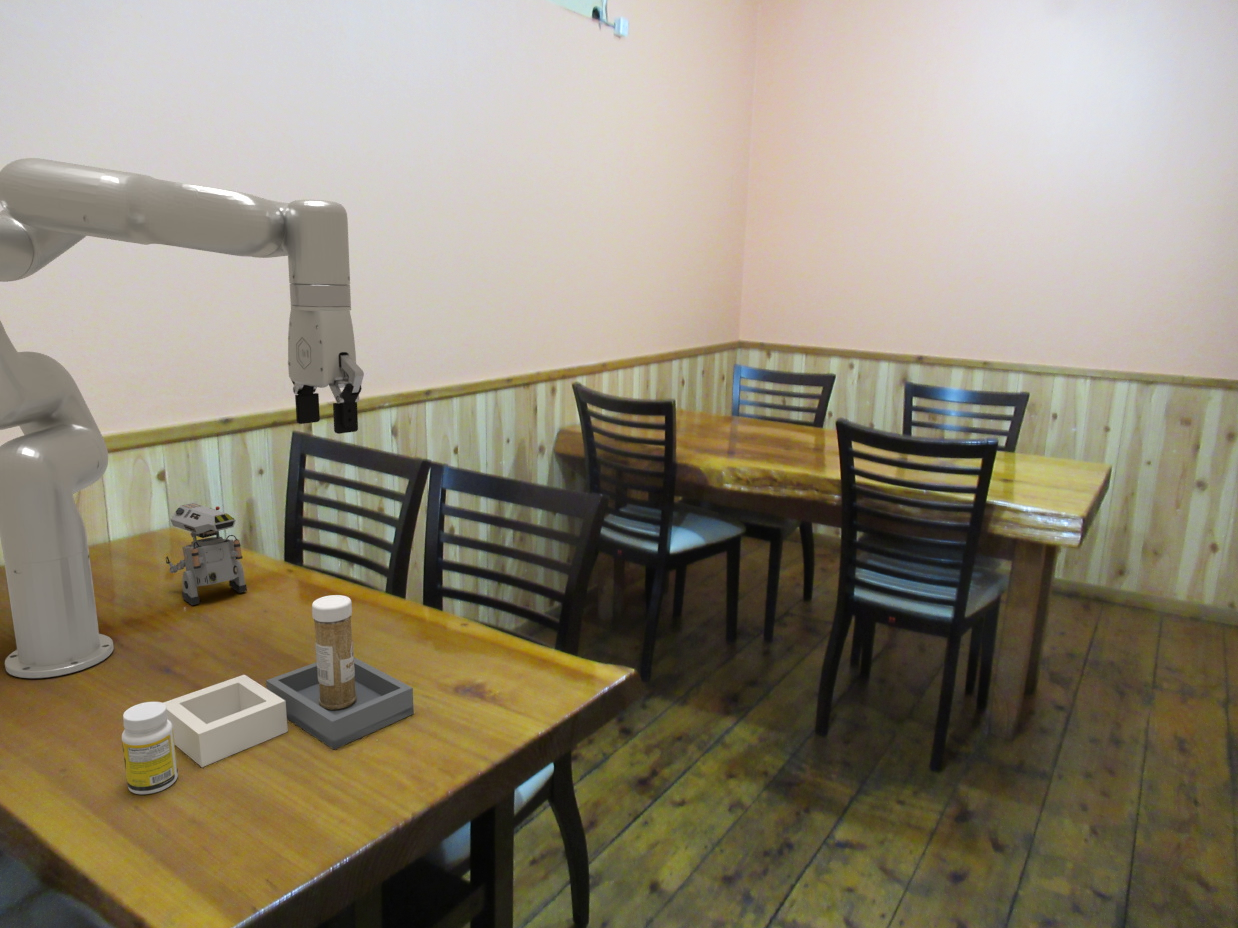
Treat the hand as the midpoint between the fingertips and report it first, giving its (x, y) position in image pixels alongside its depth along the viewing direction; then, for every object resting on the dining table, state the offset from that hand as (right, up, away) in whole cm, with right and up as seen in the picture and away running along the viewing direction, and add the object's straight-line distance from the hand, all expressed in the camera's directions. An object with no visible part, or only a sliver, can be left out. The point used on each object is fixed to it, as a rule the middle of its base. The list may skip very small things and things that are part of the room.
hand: (326, 427), depth 114 cm
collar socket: (-7, -37, -15) cm, 40 cm away
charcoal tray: (+5, -36, -9) cm, 37 cm away
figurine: (-30, -27, +28) cm, 49 cm away
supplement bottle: (-10, -39, -25) cm, 47 cm away
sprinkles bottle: (+5, -35, -9) cm, 36 cm away
